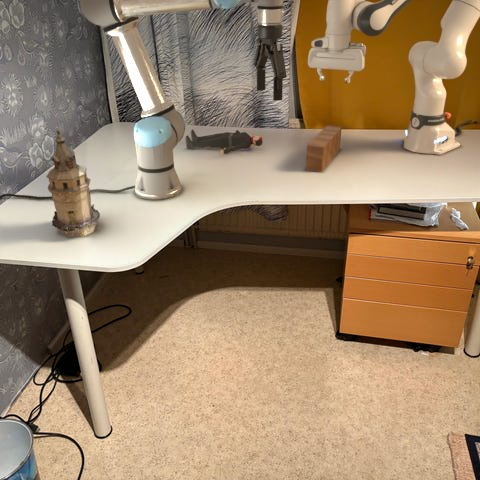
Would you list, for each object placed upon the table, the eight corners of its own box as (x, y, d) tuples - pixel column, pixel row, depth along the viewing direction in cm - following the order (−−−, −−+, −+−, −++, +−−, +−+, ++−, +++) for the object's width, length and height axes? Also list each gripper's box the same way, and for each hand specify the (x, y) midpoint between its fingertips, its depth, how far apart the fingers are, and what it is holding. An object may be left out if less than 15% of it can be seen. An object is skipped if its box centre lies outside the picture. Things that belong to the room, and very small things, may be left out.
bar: (321, 172, 191) (323, 147, 186) (305, 169, 193) (307, 145, 188) (339, 149, 210) (341, 127, 206) (325, 147, 213) (326, 125, 208)
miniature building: (80, 214, 164) (63, 117, 149) (111, 225, 157) (96, 125, 142) (44, 231, 154) (22, 130, 140) (75, 244, 147) (55, 139, 133)
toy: (197, 123, 225) (267, 123, 219) (198, 137, 228) (268, 138, 222) (178, 143, 203) (256, 144, 197) (180, 159, 206) (257, 160, 200)
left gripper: (299, 28, 151) (296, 103, 161) (265, 18, 171) (264, 85, 182) (275, 30, 149) (273, 106, 159) (243, 19, 169) (244, 87, 180)
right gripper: (368, 42, 187) (365, 82, 194) (312, 38, 195) (310, 77, 201) (364, 45, 182) (360, 86, 189) (307, 41, 190) (305, 81, 196)
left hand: (269, 95), depth 171 cm, fingers open, 13 cm apart
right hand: (334, 81), depth 195 cm, fingers open, 8 cm apart
